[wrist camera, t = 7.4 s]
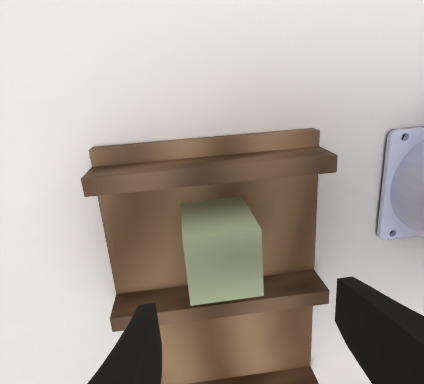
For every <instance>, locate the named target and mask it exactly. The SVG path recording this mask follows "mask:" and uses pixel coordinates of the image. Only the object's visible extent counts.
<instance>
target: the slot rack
mask: <svg viewBox="0 0 424 384" xmlns="http://www.w3.org/2000/svg"><path fill="white" fill-rule="evenodd" d="M319 135H320V130H317V129H314V128H309V129H298V130H286V131H275V132H263V133H251V134H240V135H228V136H217V137H205V138H193V139H182V140H170V141H159V142H147V143H136V144H124V145H112V146H101V147H92V148H91V149H90V150H89V154H90V159H91V164H92V168H91V169H90V170H89V171H88V172H87V173H86V174H85V175H84V176H83V177H82V178H81V182H82V186H83V191H84V196H85V197H88V196H98V201H99V206H100V211H101V216H102V221H103V227H104V232H105V237H106V242H107V247H108V252H109V258H110V263H111V268H112V273H113V278H114V284H115V289H116V298H115V301H114V305H113V309H112V313H111V317H110V322H111V326H112V331H113V332H115V331H123V330H125V329H126V327H127V325H128V323H129V322H130V320H131V318H132V316H133V314H134V312H135V310H136V308H137V307H138V306H139V305H141V304H149V303H155V304H156V310H157V316H158V322H159V329H160V335H161V341H162V378H161V384H319V383H318V381H317V379H316V377H315V375H314V373H313V371H312V369H311V367H310V360H311V335H312V310H313V306H314V305H322V304H329V290H328V288H327V287H326V285H325V284H324V283H323V281H322V280H321V279H320V277H319V276H318V275H317V273H316V272H315V270H314V260H315V235H316V210H317V185H318V174H324V173H334V172H336V171H337V155H336V154H334V153H332V152H330V151H328V150H326V149H324V148H321V147H319ZM240 196H242V197H243V198H244V200H245V202H246V203H247V205H248V207H249V209H250V210H251V212H252V214H253V215H254V217H255V219H256V221H257V222H258V224H259V226H260V228H261V229H262V257H263V288H264V296H259V297H251V298H244V299H237V300H230V301H222V302H215V303H208V304H200V305H193V306H190V298H189V289H188V281H187V273H186V265H185V256H184V248H183V240H182V223H181V204H180V203H187V202H196V201H204V200H213V199H222V198H231V197H240Z"/></svg>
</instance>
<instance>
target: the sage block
mask: <svg viewBox="0 0 424 384" xmlns="http://www.w3.org/2000/svg"><path fill="white" fill-rule="evenodd" d="M180 204H181V223H182V240H183V248H184V256H185V265H186V273H187V281H188V289H189V298H190V306H193V305H200V304H208V303H215V302H222V301H230V300H237V299H244V298H251V297H259V296H264V288H263V257H262V229H261V228H260V226H259V224H258V222H257V221H256V219H255V217H254V215H253V214H252V212H251V210H250V209H249V207H248V205H247V203H246V202H245V200H244V198H243V197H242V196H240V197H231V198H222V199H213V200H204V201H196V202H187V203H180Z"/></svg>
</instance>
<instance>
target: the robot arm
mask: <svg viewBox="0 0 424 384" xmlns="http://www.w3.org/2000/svg"><path fill="white" fill-rule="evenodd" d="M403 134H405V137H404V138H403V139H402V140H401V136H402V135H403ZM392 230H393V232H392V233H391V234H389V233H390V232H391V231H392ZM377 235H378V237H379V238H381V239H382V240H389V239H397V238H406V237H415V236H424V127H416V128H405V129H395V130H392V131H391V132H390V133H389V134H388V137H387V145H386V154H385V163H384V172H383V182H382V191H381V200H380V210H379V219H378V228H377ZM335 322H336V324H337V326H338V328H339V330H340V332H341V335H342V337H343V338H344V340H345V342H346V344H347V346H348V348H349V349H350V351H351V352H352V354H353V355H354V357H355V358H356V360H357V362H358V363H359V365H360V366H361V368H362V369H363V371H364V372H365V374H366V375H367V377H368V378H369V380H370V381H371V383H372V384H424V316H423V315H421V314H419V313H417V312H415V311H413V310H411V309H409V308H407V307H405V306H404V305H402V304H400V303H398V302H396V301H394V300H393V299H391V298H389V297H387V296H386V295H384V294H382V293H380V292H379V291H377V290H375V289H374V288H372V287H370V286H368V285H367V284H365V283H363V282H361V281H360V280H358V279H356V278H354V277H346V278H338V279H337V293H336V311H335ZM161 378H162V341H161V335H160V329H159V322H158V316H157V310H156V304H155V303H149V304H141V305H139V306H138V307H137V308H136V310H135V312H134V314H133V316H132V318H131V320H130V322H129V323H128V325H127V327H126V329H125V330H124V332H123V334H122V335H121V337H120V339H119V340H118V342H117V343H116V345H115V347H114V348H113V350H112V351H111V352H110V354H109V355H108V357H107V358H106V360H105V361H104V363H103V364H102V365H101V367H100V368H99V369H98V371H97V372H96V373H95V375H94V376H93V377H92V379H91V380H90V381H89V382H88V383H87V384H161Z"/></svg>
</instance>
